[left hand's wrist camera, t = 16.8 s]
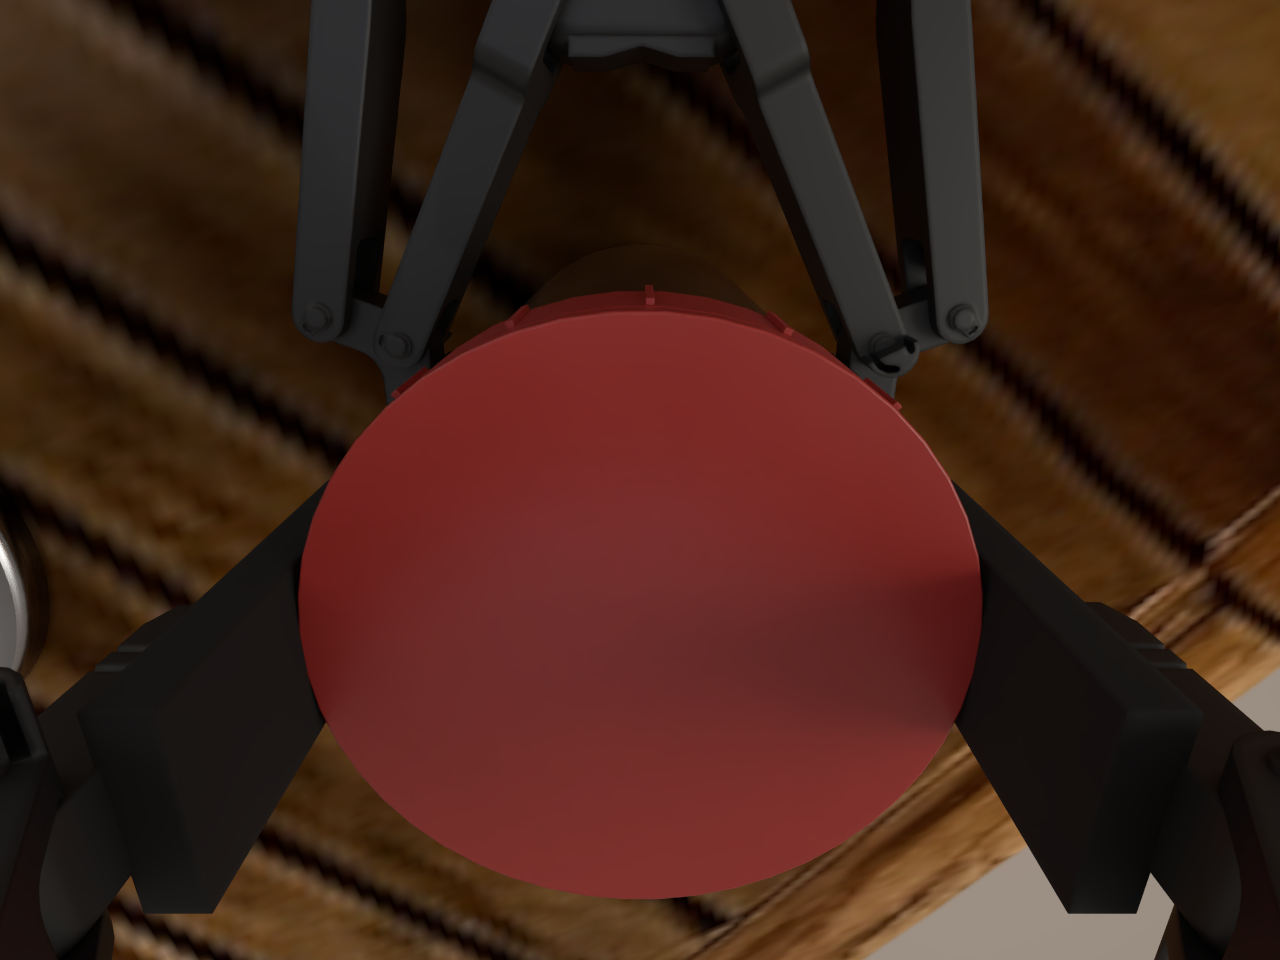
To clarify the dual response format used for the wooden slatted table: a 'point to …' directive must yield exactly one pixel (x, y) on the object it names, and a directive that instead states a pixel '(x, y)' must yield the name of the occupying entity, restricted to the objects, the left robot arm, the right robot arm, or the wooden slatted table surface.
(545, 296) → the jar
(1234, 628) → the wooden slatted table surface
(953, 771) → the wooden slatted table surface
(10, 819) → the left robot arm
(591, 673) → the lid
